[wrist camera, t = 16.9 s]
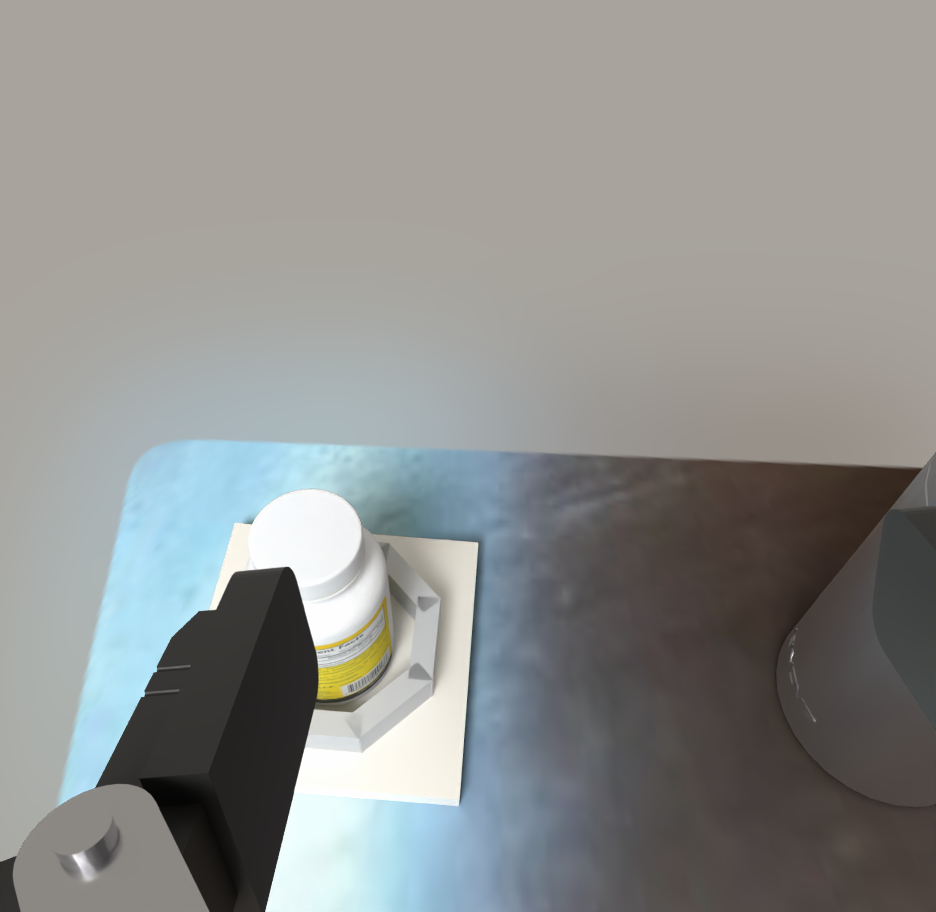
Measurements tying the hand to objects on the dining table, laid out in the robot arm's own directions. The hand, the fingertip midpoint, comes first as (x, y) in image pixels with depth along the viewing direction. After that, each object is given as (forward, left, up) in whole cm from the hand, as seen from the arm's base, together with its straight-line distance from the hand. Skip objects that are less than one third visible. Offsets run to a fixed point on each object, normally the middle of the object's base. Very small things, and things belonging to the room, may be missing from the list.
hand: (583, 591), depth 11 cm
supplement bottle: (+7, -9, -24) cm, 27 cm away
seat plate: (+7, -9, -25) cm, 28 cm away
